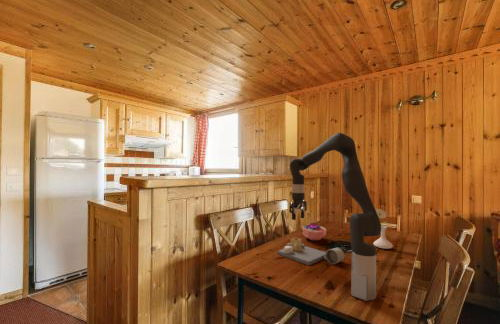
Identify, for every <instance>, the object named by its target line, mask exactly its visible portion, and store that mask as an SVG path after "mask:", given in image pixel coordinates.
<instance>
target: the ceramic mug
mask: <svg viewBox="0 0 500 324" xmlns="http://www.w3.org/2000/svg"><path fill="white" fill-rule="evenodd" d="M325 252H326V256H324V259H323V260H327V262H328V263H329V264H331V265H336V264H338V263H340V262H342V261H343V260H344V259H345V253H344V251H343V250H342V249H341V248H340V247H339V248H338V247H335V248H329V249H328V250H327V251H325Z"/></svg>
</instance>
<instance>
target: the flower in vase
mask: <svg viewBox="0 0 500 324" xmlns="http://www.w3.org/2000/svg"><path fill="white" fill-rule="evenodd" d="M375 210H376V212H377V215H378V217H379V219H386V217H387V216H388V215H387V212H386V211H385V210H383V209H380V208H375ZM387 223H388V221H386V222H382V223H381V233H380V237H379V238H378V239H376V240H375V241H373V244H372V245H373V246H375V248H376V247H377V248H380V249H384V250H387V249H388V250H389V249H393V247H394V245H393V244H392V243H391V242H390V241H389V240H388V239H387V237H386V230H387V228H388V226H385V224H387Z"/></svg>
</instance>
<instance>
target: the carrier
mask: <svg viewBox="0 0 500 324" xmlns="http://www.w3.org/2000/svg"><path fill="white" fill-rule="evenodd" d="M305 245H306V244H304V243H301V247H302V251H300V252H294V251H293V247H292V246H291V242H289V243H286V245H285V246H284V247H283V248H282V249H279V250H277V255H278V256H281V257H285V258H287V259H290V260H293V261H295V262H297V263H301V264H303V265H307V266H311V265H313V264H315V263H317V262H319V261H322V260H325V259H324V256H326V252H327V251H322V250H319V249H316V248H313V247H309V246H307V245H306V246H305Z"/></svg>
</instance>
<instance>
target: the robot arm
mask: <svg viewBox="0 0 500 324" xmlns="http://www.w3.org/2000/svg"><path fill="white" fill-rule="evenodd" d="M331 151H335V152H338V153H339V154H341V156H342V159H343V168H342V172H341V179H342V183H343V187H344V189H345V191H346V193H348V194H349V196H350V197H352V199H354V200H355V202H356V203H357V204H358V205H359V207H360V209H361V211H362V213H361V212H357V213H356V212H355V213H352V214H351V215H350V219H349V232H350V233H349V234H350V235H349V236H350V246H351V262H350V263H351V264H350V265H351V267H350V268H351V271H350V272H351V274H350V276H351V277H350V278H351V279H350V280H351V283H350V284H351V285H350V286H351V287H350V288H351V289H350V295H351V296H353V297H355V298H357V299H359V300H362V301H365V302H368V301H373V300H375V299H377V248H376V246H375V245H374V244H370V243H369V242H366V241H365V239H364V237H378V236H380V235H381V225H382V223H381V221H380V218H379V217H378V215H377V212H376V210H375V209H376V208H375V206H374V203H373V200H372V199H371V195H370V192H369V189H368V187H367V184H366V180H365V176H364V174H363V171H362V167H361V164H360V161H359V159H358V153H357V148H356V144H355V141H354V139H353V138H352V137H351V136H350V135H347V134H345V133H343V132H336V133H334V134H332V136H330V137H329V138H328V139H326V140H325V141H324V142H322V143H321V144H320V145H319V146H318V147H316V148H314V149H313V150H311V151H309V152H307V153H306V154H304V155H303V156H302V158H293V159H291V160H290V163H289V169H290V173H291V176H292V183H291V184H292V185H291V186H292V187H291V200H292V201H293V202H289V213H291V220H293V221H296V220H297V219H296V217H297V214H296V213H297V211H298V210H299V211H300V218H301V219H305V212H306V211H308V206H307V205H308V202H307V201H306V199H305V197H306V195H305V191H306V189H305V188H306V187H305V175H303V174H301V172H300V171H305V170H307V169H308V168H310V167H311V166H312V165H314V164H317V163H318V162H320V161H321V160H322V159H323V158H324V156H325V154H326V153H328V152H331Z"/></svg>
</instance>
